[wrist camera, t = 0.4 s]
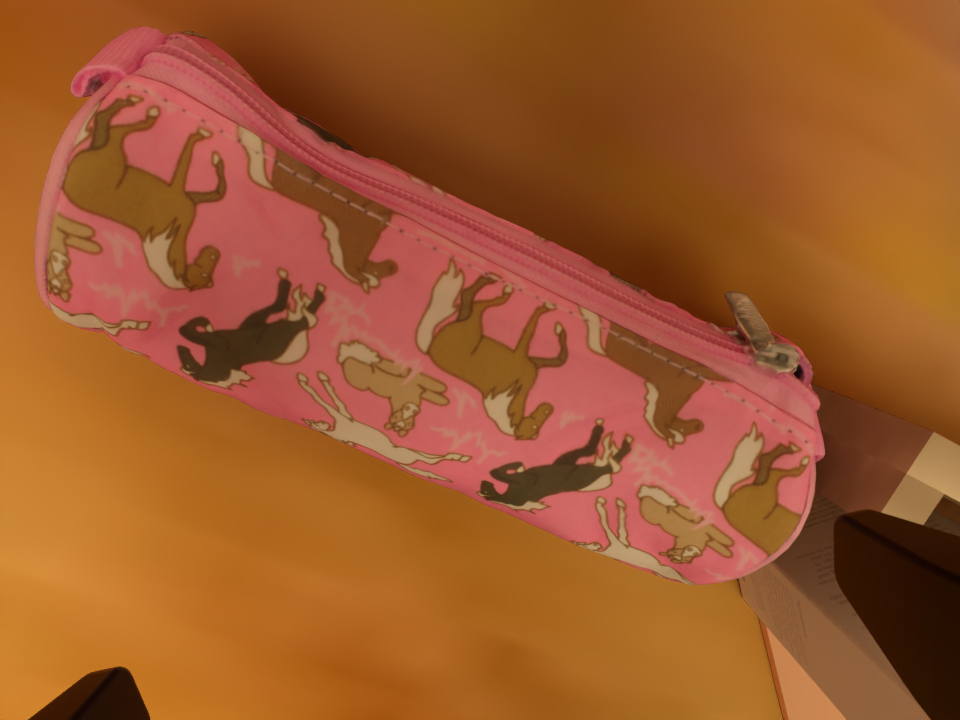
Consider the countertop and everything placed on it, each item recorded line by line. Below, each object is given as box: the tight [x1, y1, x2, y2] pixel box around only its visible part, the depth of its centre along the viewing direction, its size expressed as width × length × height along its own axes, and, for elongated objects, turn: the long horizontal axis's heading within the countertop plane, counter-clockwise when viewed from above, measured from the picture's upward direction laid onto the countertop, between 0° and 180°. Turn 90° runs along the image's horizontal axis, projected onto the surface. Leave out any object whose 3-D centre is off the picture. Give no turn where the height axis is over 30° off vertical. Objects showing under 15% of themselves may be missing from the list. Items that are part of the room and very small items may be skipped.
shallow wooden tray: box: [811, 383, 960, 525], centre depth 21 cm, size 3×11×9 cm, turn 62°
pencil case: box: [34, 27, 825, 585], centre depth 19 cm, size 21×9×9 cm, turn 65°
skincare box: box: [738, 491, 960, 720], centre depth 20 cm, size 6×4×12 cm
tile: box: [759, 618, 847, 720], centre depth 27 cm, size 9×9×1 cm
